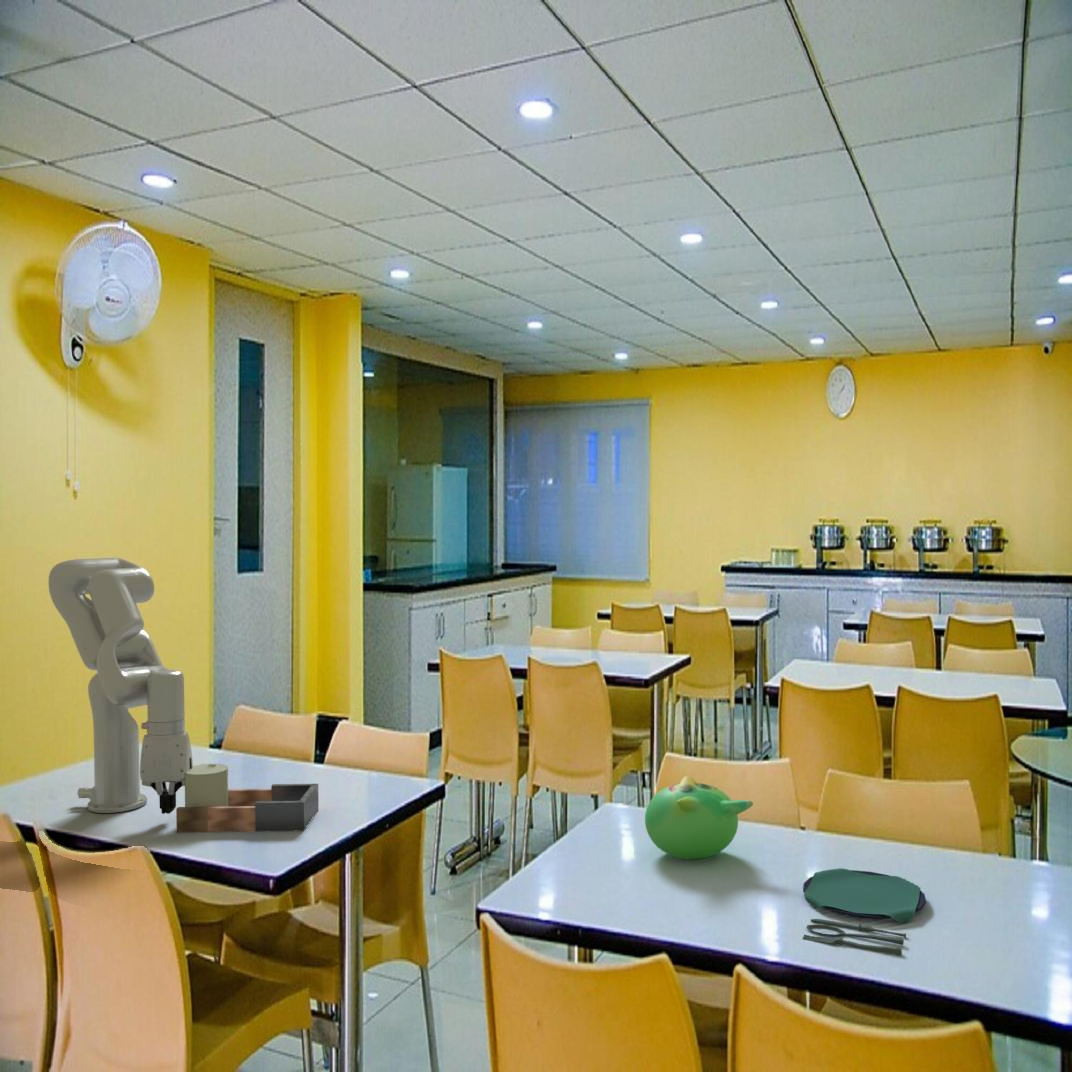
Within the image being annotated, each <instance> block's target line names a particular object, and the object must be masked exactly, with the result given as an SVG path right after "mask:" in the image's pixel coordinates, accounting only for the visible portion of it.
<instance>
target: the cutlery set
mask: <svg viewBox="0 0 1072 1072" xmlns="http://www.w3.org/2000/svg"><path fill="white" fill-rule="evenodd" d="M802 884H803V886H802V892H803V894H804V895H803V896H804V900H805V901H806V902H807V903H808V904H810V905H812V906H814V907H815V908H816V909H818V910H820V909H821V908H822V909H825V910H828V911H831V912H834V913H836V914H839V915H844V916H847V917H851V918H852V917H853V918H860V919H870V920H882V919H883V920H884V919H887V920H889V919H894V920H895V921H897V924H899V925H905V924H908V923H909V922H911V920H913V918H914V916H915V913H917V912H919V911H922V909H923V907H924V906H925V905H926V903H927V900H926V895H925V893H924V892H923V891H922V890H921V888H922V887H919V885H917V884H915V883H914V882H911V881H910V880H907V879H906V878H903V877H901V876H897V875H888V874H885V873H880V872H879V873H878V872H876V871H875V872H874V871H869V870H868V871H865V870H854V869H853V870H852V869H847V868H842V867H841V868H840V867H839V868H833V869H825V870H822V871H817V872H814V873H813V875H812V876H811V877H809V878H807V880H805V881H804V883H802ZM810 922H811V923H814V924H807V925H806V929H807V930H808V931H811V932H813V934H816V935H819V936H815V935H808V934H803V937H802V940H805V941H810V942H815V943H819V944H823V945H828V946H829V945H830V946H832V947H833V946H834V947H835V946H836V945H838V946H842V945H843V946H848V947H851V948H856V949H860V950H861V949H862V950H867V951H871V952H876V953H877V952H879V953H885V954H892V955H895V956H902V954H903V953H902V952H903V949H902V948H900V947H893V946H883V945H872V944H871V945H870V944H865V943H864V944H862V943H858V942H854V941H849V940H844V939H843V937H853V938H859V939H869V940H874V941H876V940H877V941H880V942H881V941H882V942H887V943H891V944H896V945H901V946H904V943H905V942H904V941H905V940H904V939H907V933H906V932H905V933H904V932H903V933H902V932H901V933H900V932H894V931H889V930H884V929H879V928H875V927H872V926H870V925H868V924H867V925H863V924H862V925H861V923H859V925H854V924H850V923H847V922H841V921H834V920H828V919H822V918H821V919H819V918H811V919H810ZM839 927H840V928H846V929H851V930H857V931H858V932H862V931H864V932H866V933H870V932H871V933H872V932H876V933H882V934H889V935H894V936H898V937H894V936H893V937H891V936H885V935H882V936H881V935H876V934H875V935H874V934H860V933H846V932H845V931H844V930H842V929H840V928H839ZM813 929H815V930H817V929H822V930H823V929H825V930H830V931H833V932H837V933H836V934H833V933H832V934H831V933H823V932H819V931H815V930H813ZM840 936H842V937H840ZM901 937H903V938H901Z"/></svg>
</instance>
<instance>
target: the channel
mask: <svg viewBox="0 0 1072 1072" xmlns="http://www.w3.org/2000/svg"><path fill="white" fill-rule="evenodd" d="M257 801H272V794H271V788H228V806H222V807H185V806H178V807H177V808H175V812H176V814H175V815H176V816H175V817H176V818H175V819H176V833H227V832H228V831H232V832H233V831H245V832H257V831H256V830H255V803H256V802H257ZM208 831H209V832H208ZM213 831H214V832H213ZM218 831H219V832H218ZM221 831H222V832H221ZM223 831H224V832H223ZM226 831H227V832H226ZM232 832H231V833H232ZM228 833H229V832H228ZM233 833H234V832H233Z"/></svg>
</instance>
